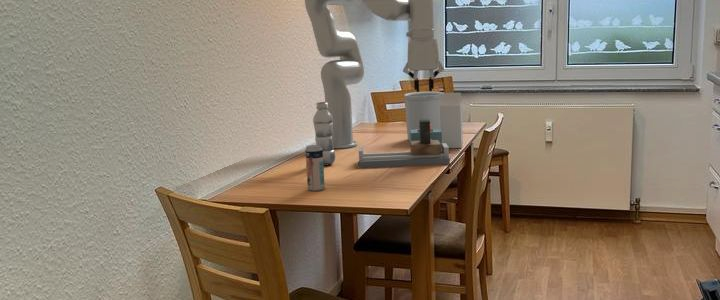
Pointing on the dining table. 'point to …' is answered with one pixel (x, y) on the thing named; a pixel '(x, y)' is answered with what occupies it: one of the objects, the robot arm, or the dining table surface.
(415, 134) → the cabinet
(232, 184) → the dining table surface
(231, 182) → the dining table surface
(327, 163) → the plastic bottle
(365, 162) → the rail board
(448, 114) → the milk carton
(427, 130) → the carriage
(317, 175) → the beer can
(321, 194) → the dining table surface
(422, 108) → the utensil holder
